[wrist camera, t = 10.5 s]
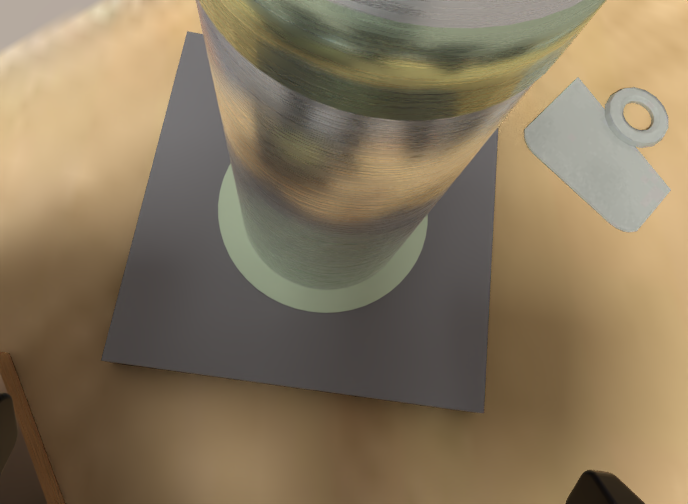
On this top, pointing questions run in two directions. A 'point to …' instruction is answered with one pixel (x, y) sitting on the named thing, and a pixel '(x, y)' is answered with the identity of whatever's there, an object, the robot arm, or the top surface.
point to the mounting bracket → (602, 152)
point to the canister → (365, 114)
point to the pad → (292, 299)
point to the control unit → (25, 451)
